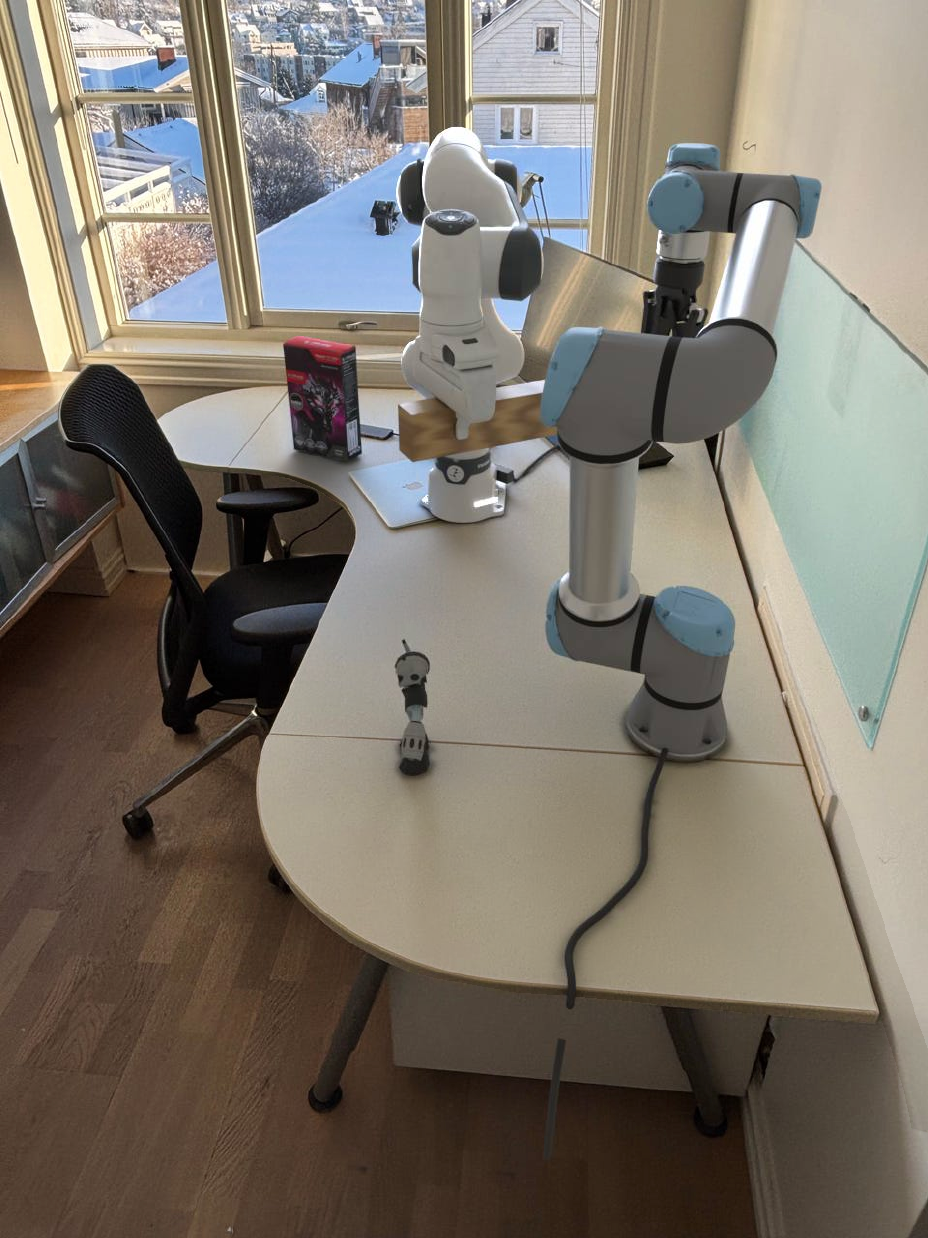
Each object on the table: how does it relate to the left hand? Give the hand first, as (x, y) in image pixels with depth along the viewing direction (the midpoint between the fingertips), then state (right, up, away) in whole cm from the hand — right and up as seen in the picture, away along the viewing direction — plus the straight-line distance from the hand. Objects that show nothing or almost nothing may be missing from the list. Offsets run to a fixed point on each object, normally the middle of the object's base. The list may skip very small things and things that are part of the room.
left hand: (451, 430), depth 137 cm
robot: (-5, -49, 0) cm, 49 cm away
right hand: (+35, +8, +16) cm, 39 cm away
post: (+17, +2, +9) cm, 20 cm away
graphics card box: (-32, +13, +92) cm, 99 cm away
